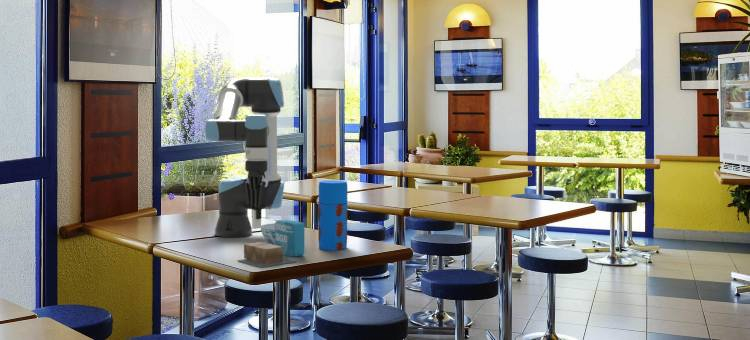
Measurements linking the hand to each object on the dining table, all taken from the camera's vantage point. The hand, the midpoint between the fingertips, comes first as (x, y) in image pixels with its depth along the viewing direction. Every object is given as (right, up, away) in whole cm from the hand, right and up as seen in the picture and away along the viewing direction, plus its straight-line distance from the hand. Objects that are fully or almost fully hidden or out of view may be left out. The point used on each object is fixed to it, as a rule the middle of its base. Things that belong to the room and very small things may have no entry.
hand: (256, 228), depth 264 cm
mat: (+4, -11, -4) cm, 12 cm away
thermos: (+25, -10, +24) cm, 36 cm away
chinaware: (+5, -9, +26) cm, 28 cm away
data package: (+10, -11, +10) cm, 18 cm away
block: (-2, -8, +3) cm, 8 cm away
